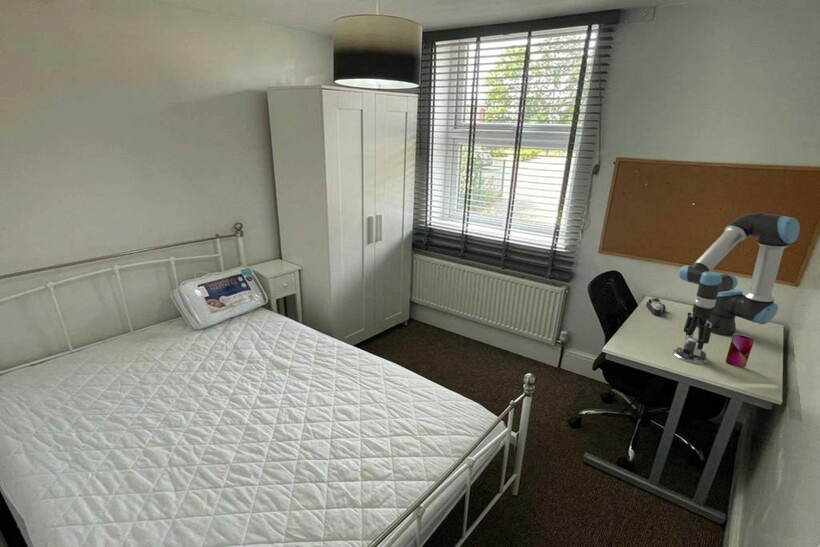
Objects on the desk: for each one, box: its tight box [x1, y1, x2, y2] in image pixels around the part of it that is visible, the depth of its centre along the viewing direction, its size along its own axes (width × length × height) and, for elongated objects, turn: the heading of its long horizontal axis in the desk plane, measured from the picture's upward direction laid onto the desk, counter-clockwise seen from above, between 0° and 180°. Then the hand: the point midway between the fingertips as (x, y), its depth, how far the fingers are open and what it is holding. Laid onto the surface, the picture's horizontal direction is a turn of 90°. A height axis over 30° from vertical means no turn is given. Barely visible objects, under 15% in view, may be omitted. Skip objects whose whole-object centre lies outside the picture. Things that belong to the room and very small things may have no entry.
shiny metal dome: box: [672, 346, 709, 365], centre depth 188 cm, size 14×14×3 cm
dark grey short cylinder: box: [682, 337, 698, 355], centre depth 187 cm, size 7×6×6 cm
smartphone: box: [725, 332, 755, 369], centre depth 180 cm, size 7×1×15 cm, turn 50°
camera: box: [645, 297, 667, 317], centre depth 237 cm, size 16×9×10 cm, turn 168°
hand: (691, 351), depth 188 cm, fingers closed on dark grey short cylinder, 6 cm apart
